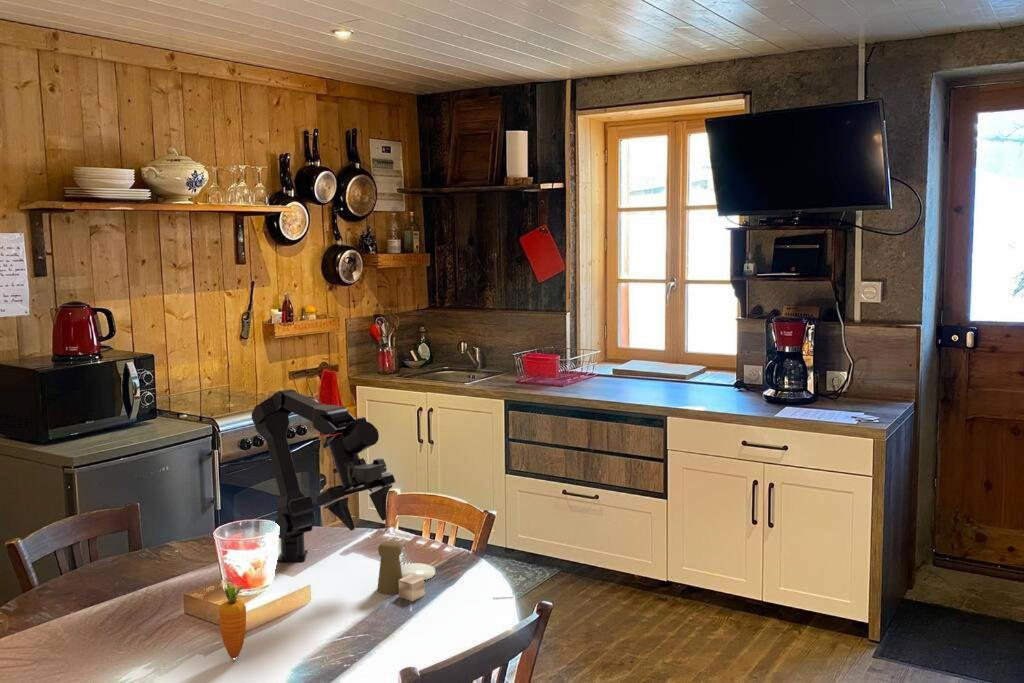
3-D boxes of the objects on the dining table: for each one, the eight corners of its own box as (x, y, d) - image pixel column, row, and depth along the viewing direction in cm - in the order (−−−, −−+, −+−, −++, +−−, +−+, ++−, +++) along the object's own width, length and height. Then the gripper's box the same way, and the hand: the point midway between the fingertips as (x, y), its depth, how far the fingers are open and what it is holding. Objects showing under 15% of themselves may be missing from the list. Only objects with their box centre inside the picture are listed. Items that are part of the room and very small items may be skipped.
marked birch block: (398, 597, 198) (398, 579, 198) (410, 591, 201) (410, 574, 201) (412, 601, 196) (412, 584, 195) (424, 595, 199) (424, 578, 198)
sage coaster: (393, 567, 216) (393, 564, 216) (435, 565, 217) (435, 562, 217) (391, 583, 206) (391, 579, 206) (435, 581, 207) (435, 578, 207)
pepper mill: (406, 584, 205) (406, 537, 204) (400, 594, 199) (400, 547, 198) (380, 583, 206) (379, 537, 204) (374, 593, 200) (373, 546, 198)
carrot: (223, 654, 171) (220, 578, 169) (250, 653, 171) (247, 577, 169) (217, 666, 166) (214, 589, 164) (245, 665, 166) (242, 588, 165)
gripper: (333, 456, 193) (356, 525, 190) (398, 441, 207) (420, 505, 204) (306, 472, 200) (328, 539, 197) (370, 456, 214) (392, 518, 211)
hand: (368, 525), depth 202 cm, fingers open, 9 cm apart
